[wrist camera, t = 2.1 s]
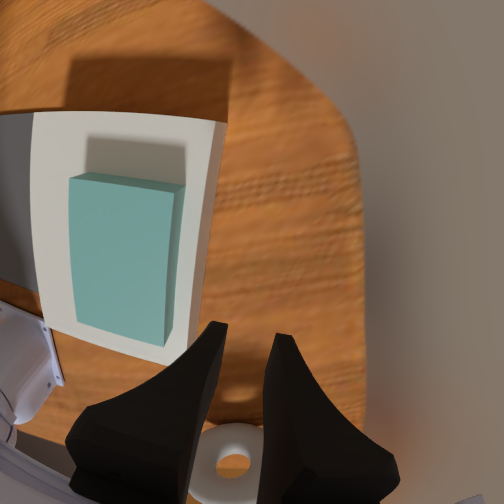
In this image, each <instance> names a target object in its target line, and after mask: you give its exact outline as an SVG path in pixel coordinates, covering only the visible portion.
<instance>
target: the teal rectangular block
mask: <svg viewBox="0 0 504 504" xmlns="http://www.w3.org/2000/svg"><path fill="white" fill-rule="evenodd" d="M185 190H186V186H185V185H179V184H172V183H166V182H159V181H153V180H146V179H139V178H132V177H124V176H117V175H109V174H101V173H93V172H87V173H84V174H80V175H77V176H74V177H71V178H69V200H68V213H69V246H70V262H71V274H72V285H73V294H74V302H75V310H76V317H77V322H80V323H83V324H86V325H89V326H92V327H95V328H98V329H101V330H104V331H107V332H111V333H114V334H117V335H121V336H124V337H127V338H131V339H134V340H138V341H142V342H145V343H149V344H153V345H156V346H160V347H164V346H165V344H166V342H167V340H168V338H169V335H170V333H171V331H172V329H173V319H174V303H175V288H176V275H177V264H178V252H179V242H180V232H181V223H182V214H183V206H184V197H185Z"/></svg>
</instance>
